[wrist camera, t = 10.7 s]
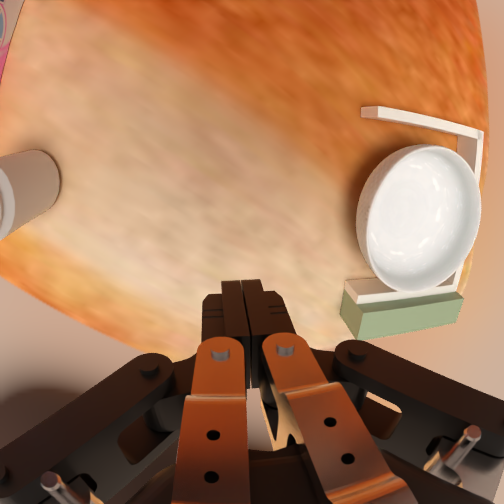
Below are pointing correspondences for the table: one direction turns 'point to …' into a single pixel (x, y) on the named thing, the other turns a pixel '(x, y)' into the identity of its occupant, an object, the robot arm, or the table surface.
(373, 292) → the green and white frame
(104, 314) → the table surface
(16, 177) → the can
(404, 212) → the cereal bowl
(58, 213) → the table surface
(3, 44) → the gum box
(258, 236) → the table surface
